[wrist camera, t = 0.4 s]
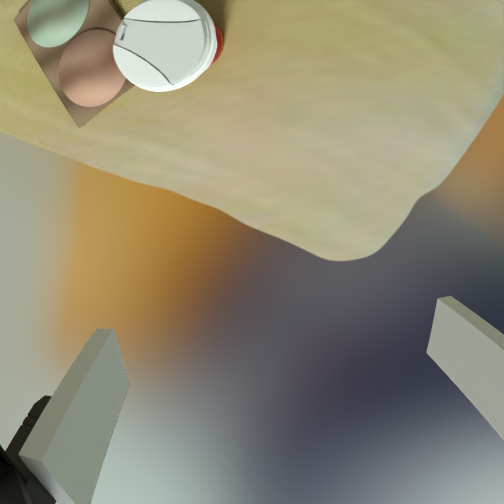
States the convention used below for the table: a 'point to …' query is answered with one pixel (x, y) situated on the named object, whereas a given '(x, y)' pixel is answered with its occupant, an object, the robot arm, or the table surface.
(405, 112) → the table surface
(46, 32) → the brown flat rectangular board
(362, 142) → the table surface
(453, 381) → the robot arm
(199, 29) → the paper cup
